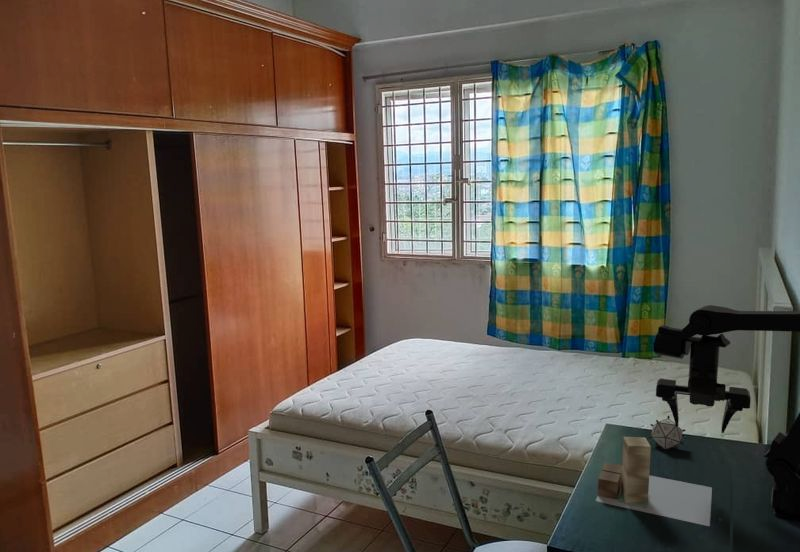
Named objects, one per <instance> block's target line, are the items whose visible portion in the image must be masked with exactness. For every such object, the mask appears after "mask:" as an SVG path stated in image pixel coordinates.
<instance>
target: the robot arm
mask: <svg viewBox="0 0 800 552" xmlns="http://www.w3.org/2000/svg"><path fill="white" fill-rule="evenodd" d="M657 330H658V331H657V333H656V335H655V338H654V341H653V347H652V348H653V353H654V354H655V355H658V356H663V357H670V358H673V359H674V358H675V359H680V360H683V358H684V357H685V356H689V364H688V365H689V366H688V380H687V386H686V385H678V384H677V380H675V379H667V378H659V379H658V380H657V383H656V388H655V397H656V398H661V400H662V401H663V402H666V403H667V405H668V406H669V408H670V410H671V413H672V417H673V421H674V423H675V424H676V426H677V427H679V425H678V423H680V422H679V419H680V417H679V406H678V403H679V402H678V395H682V396H689V403H690V404H692V405H699V406H700V405H701V406H706V407H714V406H715V404H716V403H715V402H720V401H723V402H724V401H726V402H725V406H724V412H723V415H722V416H723V417H722V422H721V433H722V434H724V433H725V431H726V429H727V427H728V425H729V423H730V422H731V420H732V418H733V416H734V415H735V414H736V413H737V412H742V411H743V410H744V409H746V410H748V409H750V408H751V399H752V398H751V394H750V393H751V392H750V391H749V390H748V388H744V387H736V386H728V390H727V391H726V384H725V383H719V382H718V375H719V374H718V373H719V359H720V348H726V347H728V346H729V345H730V344H731V341H730V340H729V339H728V338H726V336H725V335H724V334H725V333H729V332H735V331H750V332H751V331H752V332H753V331H756V332H757V331H758V332H759V331H762V332H794V333H795V332H798V333H800V310H737V309H732V308H729V307H726V306H719V305H712V304H709V305H704V306H702V307H699V308H698V309H696V310H694V311H693V312H691V314H690V316H689V319H688V323H687V324H686V326H684V327H683V328H677V327H676V328H675V327H670V326H667V325H660V326H658V328H657ZM697 335H699V336H701V337H698V336H697ZM714 335H715V336H714ZM716 335H717V336H716ZM763 457H764V458H767V459H766V461H765V468H766V469H767V471H768V473H769V474H770V475H771V476H772V477H773V480H774V483H775V484H773V485H772V488H771V496H770V497H771V499H770V505H771V508H772V509H773V511H774V512H773V513H774V515H775V516H776V517H782V518H787V519H792V520H796V521H800V412H798V415H797V417H796V418H795V420H794V422H793V424H792V426H791V428H790V429H789V431H788V432H787V434H786V435H785V434H783V433H782V432H781V431H779V432H778V433H777V434H776V435H775V437H774V438H773V440H772V441H771V444H770V447H769V449H768V450H767V452H766V453H765V454H764V456H763Z"/></svg>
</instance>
